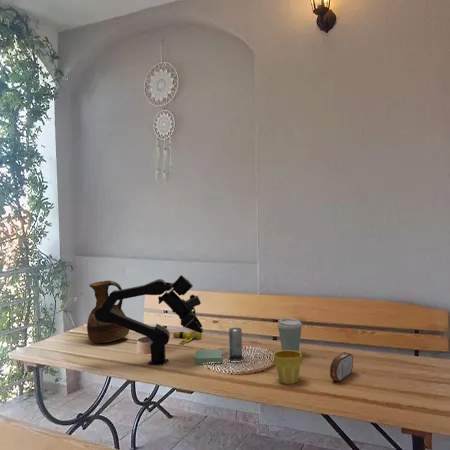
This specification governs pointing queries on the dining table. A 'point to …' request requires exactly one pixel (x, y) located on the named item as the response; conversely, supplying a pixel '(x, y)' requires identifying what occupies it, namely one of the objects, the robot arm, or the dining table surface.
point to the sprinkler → (187, 336)
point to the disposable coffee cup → (290, 333)
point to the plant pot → (288, 365)
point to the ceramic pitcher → (100, 329)
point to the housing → (235, 344)
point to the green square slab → (208, 356)
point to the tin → (341, 366)
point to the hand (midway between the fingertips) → (201, 329)
